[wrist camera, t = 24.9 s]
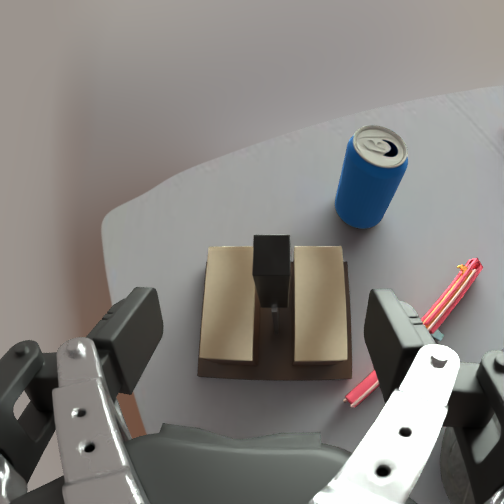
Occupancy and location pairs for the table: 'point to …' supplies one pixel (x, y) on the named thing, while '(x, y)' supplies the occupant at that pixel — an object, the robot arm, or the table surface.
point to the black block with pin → (272, 272)
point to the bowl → (456, 468)
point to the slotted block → (290, 319)
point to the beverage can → (370, 175)
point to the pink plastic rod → (427, 322)
